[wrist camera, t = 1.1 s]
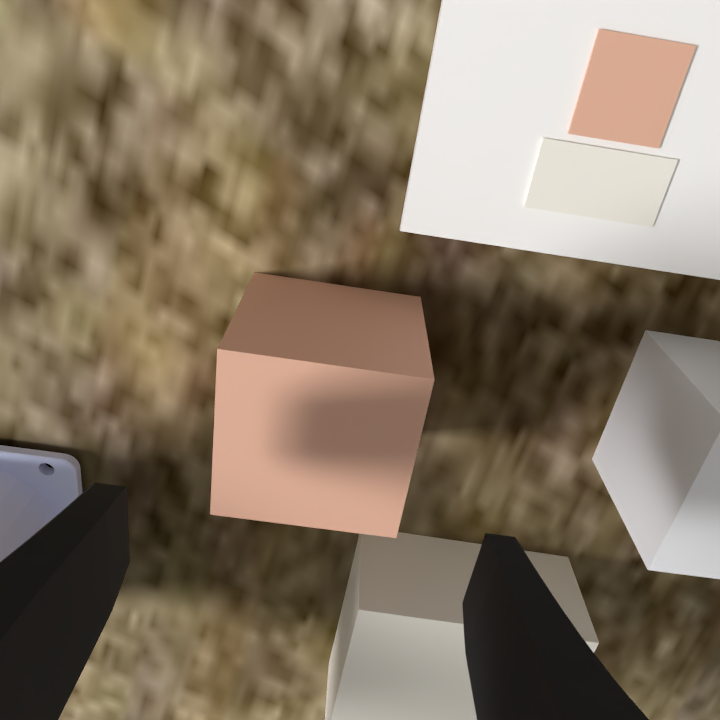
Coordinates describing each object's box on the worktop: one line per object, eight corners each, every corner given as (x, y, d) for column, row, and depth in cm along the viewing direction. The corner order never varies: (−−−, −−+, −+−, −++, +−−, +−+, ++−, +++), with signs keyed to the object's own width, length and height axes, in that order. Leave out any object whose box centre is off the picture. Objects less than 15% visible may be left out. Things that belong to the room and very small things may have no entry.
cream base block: (329, 656, 27) (322, 750, 24) (361, 521, 23) (358, 609, 20) (506, 680, 28) (526, 776, 24) (566, 551, 24) (599, 643, 20)
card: (399, 228, 18) (400, 232, 17) (454, -68, 14) (456, -70, 14) (737, 279, 18) (744, 284, 18) (865, 6, 15) (877, 6, 14)
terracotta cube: (245, 410, 21) (210, 515, 16) (255, 271, 18) (217, 348, 14) (391, 430, 21) (396, 538, 17) (420, 295, 19) (434, 379, 14)
